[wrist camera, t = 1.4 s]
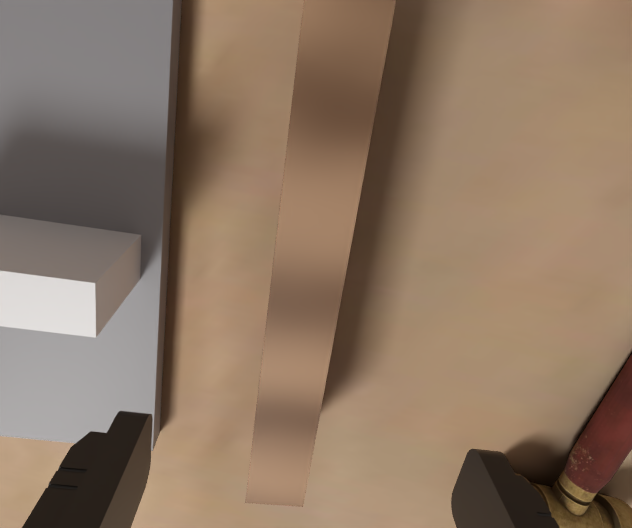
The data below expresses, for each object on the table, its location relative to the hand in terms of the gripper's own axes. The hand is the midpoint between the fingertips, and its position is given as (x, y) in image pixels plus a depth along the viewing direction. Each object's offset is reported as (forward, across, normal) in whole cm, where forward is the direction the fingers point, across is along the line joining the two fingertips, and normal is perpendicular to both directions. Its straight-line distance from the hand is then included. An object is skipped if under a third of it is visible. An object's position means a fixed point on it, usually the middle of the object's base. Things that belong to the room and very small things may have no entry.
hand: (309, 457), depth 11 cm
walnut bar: (+14, 0, 0) cm, 14 cm away
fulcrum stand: (+14, +12, +1) cm, 19 cm away
